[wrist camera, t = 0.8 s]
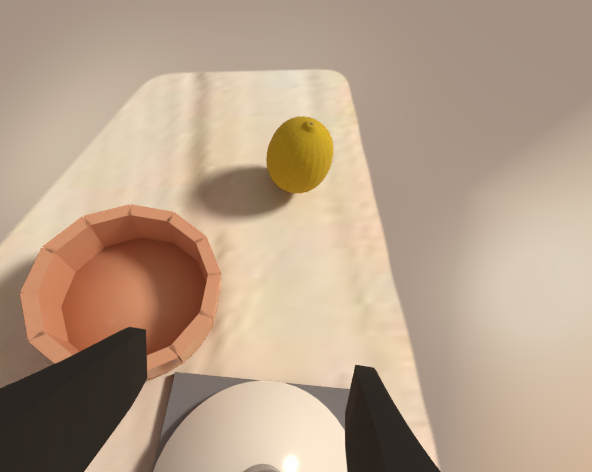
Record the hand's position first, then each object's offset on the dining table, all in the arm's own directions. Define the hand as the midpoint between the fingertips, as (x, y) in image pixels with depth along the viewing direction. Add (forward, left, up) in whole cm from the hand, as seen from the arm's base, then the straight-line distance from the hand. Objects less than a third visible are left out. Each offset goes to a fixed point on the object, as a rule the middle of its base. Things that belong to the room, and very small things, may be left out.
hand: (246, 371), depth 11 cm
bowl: (+5, +7, -14) cm, 16 cm away
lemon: (+18, -3, -14) cm, 23 cm away
